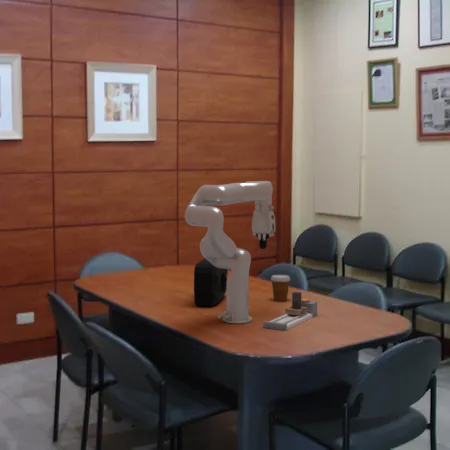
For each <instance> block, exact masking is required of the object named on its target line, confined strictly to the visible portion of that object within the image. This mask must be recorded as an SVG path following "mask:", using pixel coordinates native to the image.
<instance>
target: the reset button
mask: <svg viewBox="0 0 450 450" xmlns="http://www.w3.org/2000/svg"><path fill="white" fill-rule="evenodd" d="M309 301H311V299H310V298H308V297H307V298H305V297H301V302H309Z"/></svg>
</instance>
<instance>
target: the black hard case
mask: <svg viewBox="0 0 450 450" xmlns="http://www.w3.org/2000/svg"><path fill="white" fill-rule="evenodd" d="M228 270H229V269H221V268H217V267H215V266H214V265H212V264H211V263H210V262H209V261H208V260H207V259H206V258H203V259H202V260H200V261H199V262H198V263H196V264H195V265H194V272H193V277H194V278H193V297H194V298H193V300H194V305H195V306H198V307H199V306H205V307H214V306H215V305H217V304H218V303H219V302H220V301H221V300H222V299H223V297H224V296H225V295H226V293H227V285H226V282H227V278H228V272H229V271H228Z"/></svg>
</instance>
